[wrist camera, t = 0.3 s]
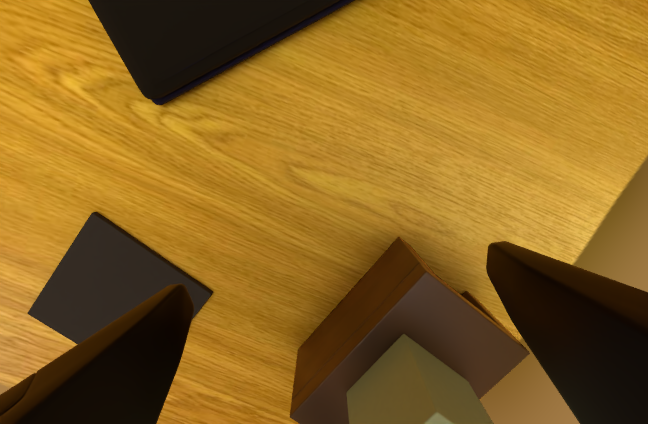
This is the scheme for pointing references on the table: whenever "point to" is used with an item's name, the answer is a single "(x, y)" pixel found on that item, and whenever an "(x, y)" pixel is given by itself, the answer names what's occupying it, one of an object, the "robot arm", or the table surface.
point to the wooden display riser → (398, 335)
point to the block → (413, 391)
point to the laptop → (198, 36)
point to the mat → (106, 281)
